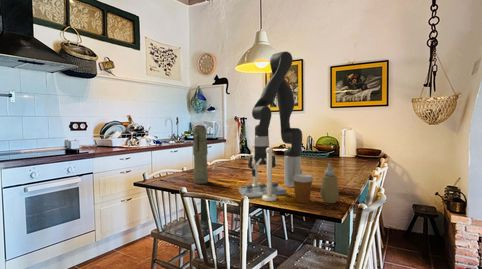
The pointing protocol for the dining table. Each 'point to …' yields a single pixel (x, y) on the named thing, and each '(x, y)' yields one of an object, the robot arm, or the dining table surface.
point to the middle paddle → (262, 185)
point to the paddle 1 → (249, 186)
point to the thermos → (200, 155)
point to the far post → (255, 179)
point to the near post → (269, 178)
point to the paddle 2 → (274, 184)
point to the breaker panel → (261, 191)
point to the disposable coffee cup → (302, 187)
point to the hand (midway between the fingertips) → (261, 175)
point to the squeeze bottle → (329, 186)
